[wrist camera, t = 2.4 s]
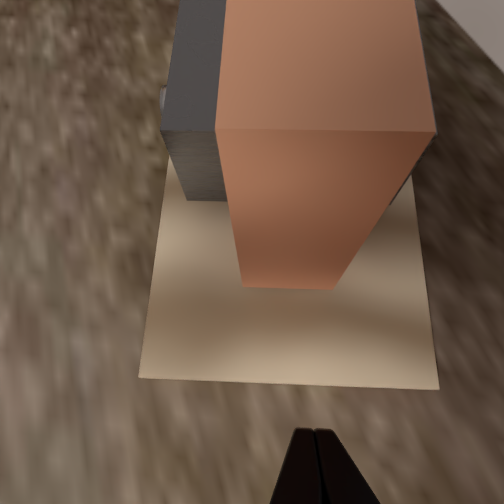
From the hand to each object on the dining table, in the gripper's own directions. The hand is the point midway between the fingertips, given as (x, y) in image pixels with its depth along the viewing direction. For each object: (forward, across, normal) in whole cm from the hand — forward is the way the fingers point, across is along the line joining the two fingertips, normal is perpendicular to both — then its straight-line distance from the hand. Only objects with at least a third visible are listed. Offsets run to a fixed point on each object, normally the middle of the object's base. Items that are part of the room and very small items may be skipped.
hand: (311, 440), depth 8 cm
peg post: (+13, 0, 0) cm, 13 cm away
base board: (+14, 0, 0) cm, 14 cm away
